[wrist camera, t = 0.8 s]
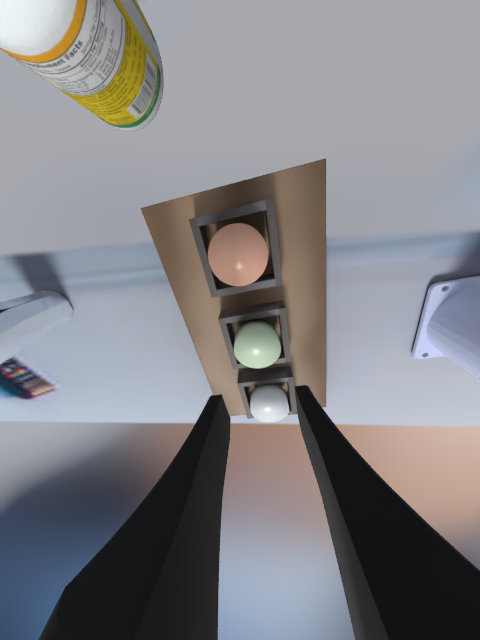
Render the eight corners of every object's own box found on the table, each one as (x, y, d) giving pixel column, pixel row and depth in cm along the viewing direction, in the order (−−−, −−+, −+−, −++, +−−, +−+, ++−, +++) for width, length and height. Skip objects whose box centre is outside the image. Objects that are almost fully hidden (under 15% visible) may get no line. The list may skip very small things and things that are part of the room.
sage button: (275, 316, 15) (278, 326, 13) (280, 352, 16) (283, 365, 15) (230, 323, 15) (228, 334, 14) (240, 358, 17) (239, 370, 15)
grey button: (284, 381, 18) (287, 394, 16) (287, 406, 19) (290, 420, 18) (247, 385, 18) (246, 399, 17) (253, 409, 20) (253, 423, 19)
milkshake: (74, 337, 21) (-58, 426, 12) (24, 302, 19) (-177, 374, 10) (96, 314, 19) (-37, 396, 10) (43, 273, 17) (-173, 329, 8)
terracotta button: (261, 216, 12) (263, 216, 10) (269, 274, 13) (271, 280, 12) (206, 230, 12) (200, 231, 11) (220, 283, 14) (216, 290, 12)
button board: (315, 167, 13) (336, 149, 10) (320, 392, 23) (331, 419, 20) (154, 210, 14) (127, 206, 11) (224, 402, 24) (220, 428, 21)
